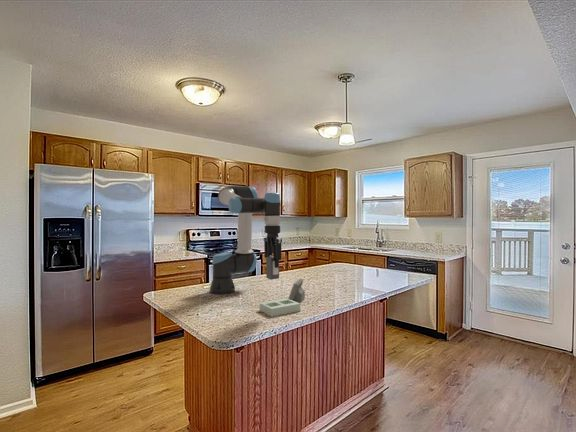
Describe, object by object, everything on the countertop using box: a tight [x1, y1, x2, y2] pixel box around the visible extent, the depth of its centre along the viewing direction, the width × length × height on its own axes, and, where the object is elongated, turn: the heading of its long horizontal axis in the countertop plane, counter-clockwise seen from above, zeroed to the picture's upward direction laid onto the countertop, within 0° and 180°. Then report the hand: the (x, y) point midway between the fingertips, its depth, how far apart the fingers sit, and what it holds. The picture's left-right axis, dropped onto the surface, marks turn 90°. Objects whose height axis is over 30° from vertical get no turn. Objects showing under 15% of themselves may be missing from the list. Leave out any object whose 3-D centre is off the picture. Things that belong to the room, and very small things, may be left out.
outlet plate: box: [259, 298, 301, 317], centre depth 157 cm, size 12×16×4 cm
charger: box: [265, 254, 280, 280], centre depth 155 cm, size 4×4×11 cm
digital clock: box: [287, 278, 306, 303], centre depth 177 cm, size 16×9×11 cm, turn 154°
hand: (272, 273), depth 155 cm, fingers closed on charger, 4 cm apart
